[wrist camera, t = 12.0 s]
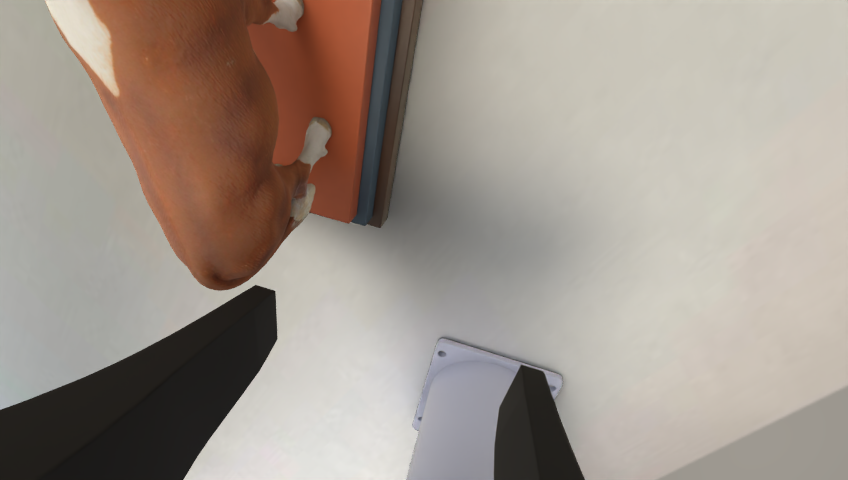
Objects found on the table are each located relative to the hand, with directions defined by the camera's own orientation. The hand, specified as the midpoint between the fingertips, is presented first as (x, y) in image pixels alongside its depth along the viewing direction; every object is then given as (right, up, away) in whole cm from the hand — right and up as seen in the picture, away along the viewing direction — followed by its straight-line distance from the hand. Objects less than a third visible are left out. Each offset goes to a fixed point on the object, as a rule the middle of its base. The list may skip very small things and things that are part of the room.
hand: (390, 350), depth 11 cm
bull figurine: (-5, +10, +4) cm, 12 cm away
